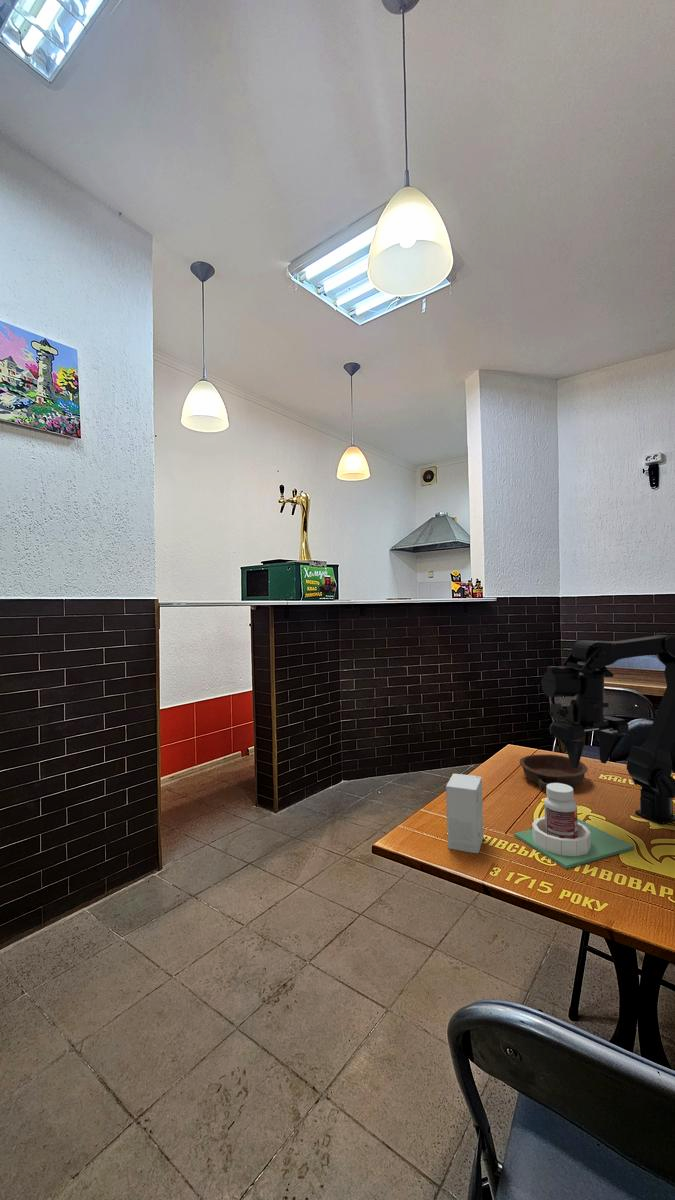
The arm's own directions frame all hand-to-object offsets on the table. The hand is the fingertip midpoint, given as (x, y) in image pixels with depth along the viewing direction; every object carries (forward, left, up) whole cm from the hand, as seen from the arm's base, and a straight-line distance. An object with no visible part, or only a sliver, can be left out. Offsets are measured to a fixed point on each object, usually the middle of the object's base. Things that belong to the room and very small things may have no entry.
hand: (589, 765), depth 109 cm
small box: (+31, -4, -13) cm, 34 cm away
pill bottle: (+14, +5, -13) cm, 19 cm away
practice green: (+11, +5, -13) cm, 18 cm away
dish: (-12, -23, -14) cm, 29 cm away
